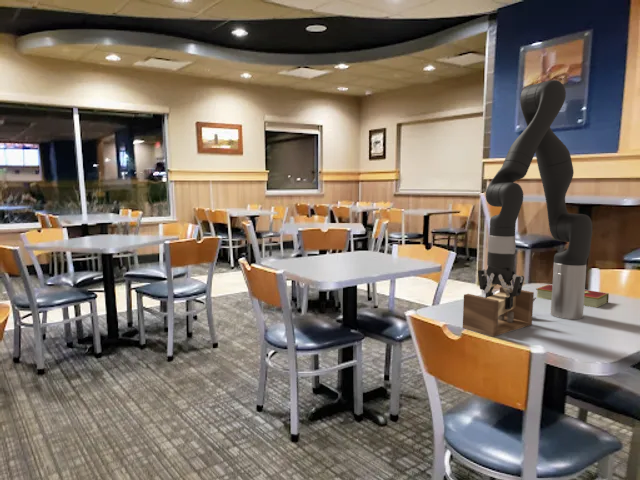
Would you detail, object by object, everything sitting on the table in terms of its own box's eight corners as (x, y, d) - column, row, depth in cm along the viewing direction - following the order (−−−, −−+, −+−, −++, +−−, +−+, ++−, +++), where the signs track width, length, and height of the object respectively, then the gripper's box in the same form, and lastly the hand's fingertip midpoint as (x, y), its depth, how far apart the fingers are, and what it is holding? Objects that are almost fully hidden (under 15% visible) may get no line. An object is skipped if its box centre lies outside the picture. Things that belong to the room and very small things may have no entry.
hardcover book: (547, 293, 178) (548, 283, 178) (608, 303, 163) (608, 292, 162) (535, 298, 170) (536, 287, 170) (597, 309, 155) (598, 297, 154)
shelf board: (497, 316, 126) (497, 303, 125) (479, 313, 129) (480, 299, 129) (515, 307, 136) (516, 294, 135) (499, 304, 139) (499, 292, 139)
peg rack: (501, 317, 143) (503, 286, 142) (531, 324, 135) (533, 292, 134) (462, 327, 132) (463, 294, 130) (492, 336, 123) (494, 301, 122)
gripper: (472, 249, 134) (470, 303, 136) (517, 254, 123) (513, 314, 125) (487, 247, 139) (485, 300, 141) (531, 252, 127) (528, 310, 129)
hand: (498, 306), depth 133 cm, fingers closed on shelf board, 5 cm apart
